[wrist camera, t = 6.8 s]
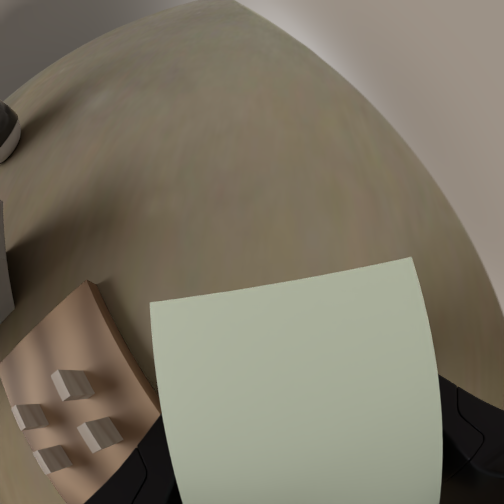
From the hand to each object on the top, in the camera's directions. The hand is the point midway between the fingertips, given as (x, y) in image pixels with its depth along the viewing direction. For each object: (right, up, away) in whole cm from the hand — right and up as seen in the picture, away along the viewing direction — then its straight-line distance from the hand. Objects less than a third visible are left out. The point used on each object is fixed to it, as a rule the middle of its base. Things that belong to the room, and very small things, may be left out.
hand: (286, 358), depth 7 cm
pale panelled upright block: (+1, -4, +6) cm, 7 cm away
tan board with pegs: (-15, -11, +9) cm, 21 cm away
